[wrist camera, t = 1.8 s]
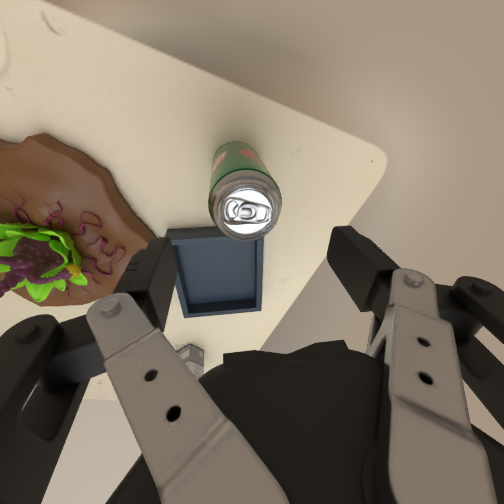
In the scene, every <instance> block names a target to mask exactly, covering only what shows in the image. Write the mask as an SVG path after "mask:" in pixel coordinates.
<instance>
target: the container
mask: <svg viewBox="0 0 504 504" xmlns="http://www.w3.org/2000/svg"><path fill="white" fill-rule="evenodd" d="M165 237H169V238H170V240H171V243H172V247H173V252H174V256H175V260H176V264H177V277H176V281H175V286H176V289H177V293H178V297H179V300H180V304H181V308H182V312H183V315H184V318H191V317H201V316H212V315H223V314H233V313H244V312H254V311H261V307H262V275H263V242H264V240H263V239H264V236H262V237H260V238H258V239H255V240H250V241H241V240H236V239H233V238H231V237H229V236H227V235H226V234H224V233H223V232H222V231H221V230H220V229H219V228H218V227H203V228H186V229H169V230H167V233H166V235H165Z"/></svg>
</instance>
